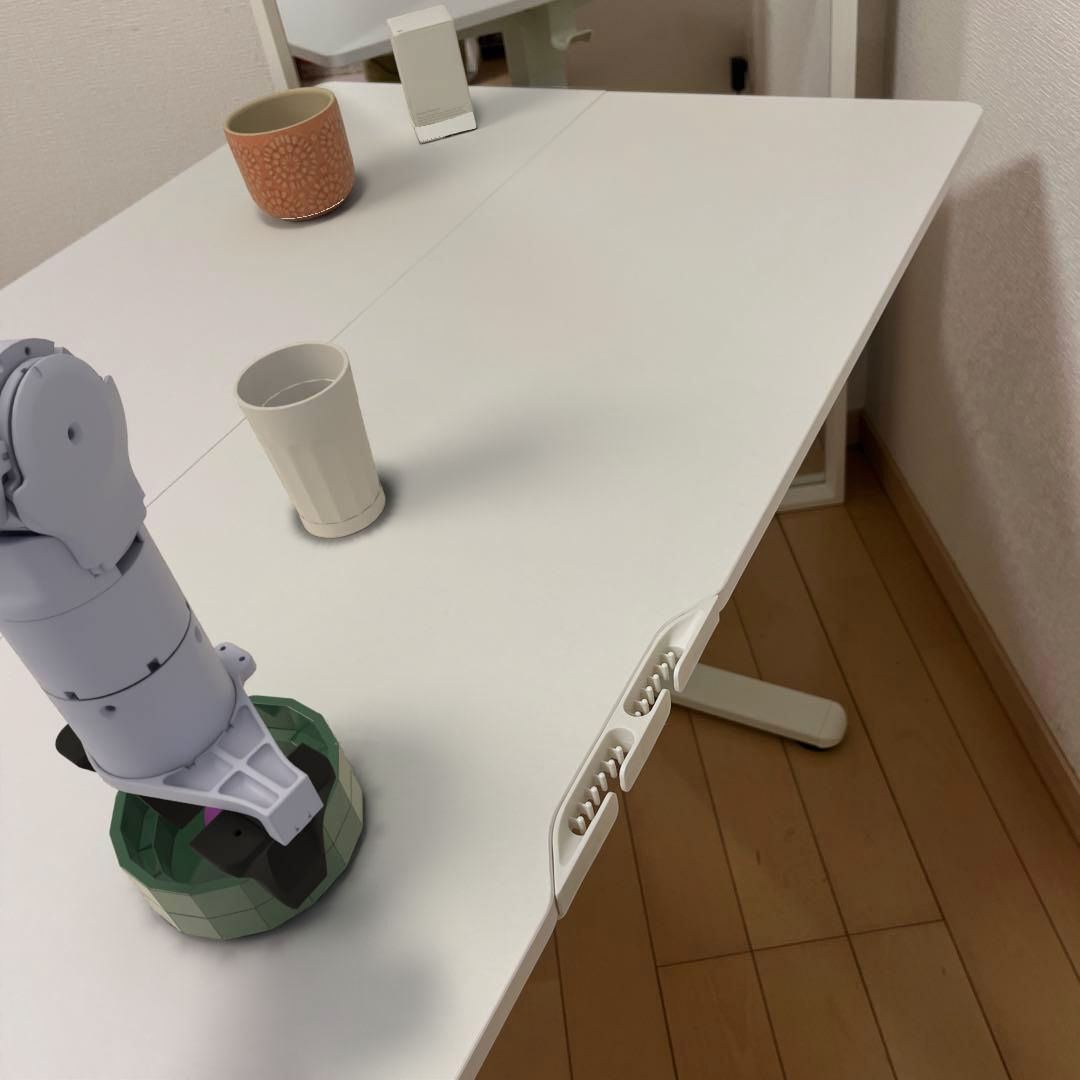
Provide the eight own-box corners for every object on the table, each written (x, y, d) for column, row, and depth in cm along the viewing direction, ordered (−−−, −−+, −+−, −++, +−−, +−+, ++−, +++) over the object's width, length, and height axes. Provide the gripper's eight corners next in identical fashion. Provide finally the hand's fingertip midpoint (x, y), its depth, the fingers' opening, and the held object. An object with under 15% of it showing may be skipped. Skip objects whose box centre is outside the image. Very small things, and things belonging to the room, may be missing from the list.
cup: (405, 470, 84) (360, 335, 76) (384, 541, 78) (332, 403, 70) (306, 478, 85) (252, 346, 77) (278, 549, 79) (216, 414, 72)
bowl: (248, 988, 54) (210, 938, 51) (107, 874, 61) (65, 823, 58) (410, 805, 61) (385, 750, 57) (266, 720, 67) (236, 666, 64)
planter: (317, 238, 117) (282, 138, 110) (235, 227, 123) (197, 131, 116) (387, 185, 124) (359, 88, 117) (306, 177, 130) (275, 84, 123)
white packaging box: (478, 129, 131) (454, 19, 123) (418, 145, 131) (390, 35, 123) (469, 109, 137) (445, 1, 129) (411, 124, 137) (383, 17, 128)
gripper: (328, 634, 38) (427, 852, 47) (89, 514, 46) (212, 720, 54) (170, 785, 34) (310, 990, 43) (-61, 626, 42) (98, 827, 51)
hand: (248, 847), depth 48 cm, fingers open, 7 cm apart
